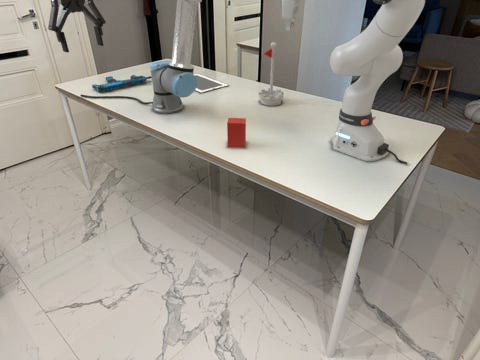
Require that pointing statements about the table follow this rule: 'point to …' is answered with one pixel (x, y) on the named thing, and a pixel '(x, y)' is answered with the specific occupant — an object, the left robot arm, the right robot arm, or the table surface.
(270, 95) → the flag stand
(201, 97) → the table surface
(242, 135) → the block
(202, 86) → the tablet
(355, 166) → the table surface
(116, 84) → the submachine gun
